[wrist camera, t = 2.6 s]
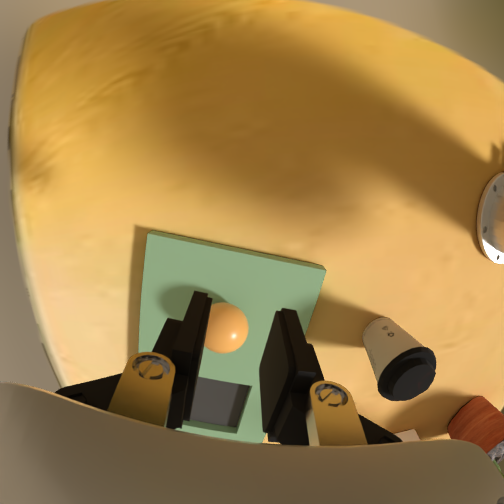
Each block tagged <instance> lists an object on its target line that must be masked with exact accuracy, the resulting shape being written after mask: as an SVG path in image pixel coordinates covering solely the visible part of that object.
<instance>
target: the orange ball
mask: <svg viewBox="0 0 504 504" xmlns="http://www.w3.org/2000/svg"><path fill="white" fill-rule="evenodd" d="M248 330H249V327H248V321H247V318H246V316H245V314H244V313H243V312H242V311H241V310H240V309H239V308H238V307H237V306H235V305H233V304H230V303H225V302H220V303H215V304H212V305H211V311H210V316H209V321H208V327H207V332H206V338H205V343H204V346H205V347H206V348H207V349H209V350H211V351H213V352H216V353H222V354H224V353H230V352H233V351H235V350H237V349H238V348H240V347H241V346H242V345H243V343H244V342H245V340H246V338H247V335H248Z"/></svg>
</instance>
